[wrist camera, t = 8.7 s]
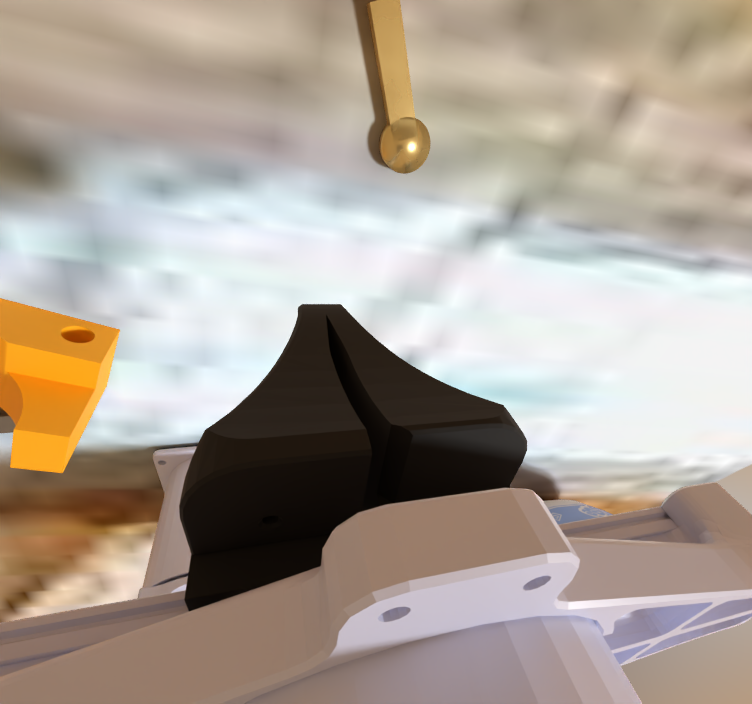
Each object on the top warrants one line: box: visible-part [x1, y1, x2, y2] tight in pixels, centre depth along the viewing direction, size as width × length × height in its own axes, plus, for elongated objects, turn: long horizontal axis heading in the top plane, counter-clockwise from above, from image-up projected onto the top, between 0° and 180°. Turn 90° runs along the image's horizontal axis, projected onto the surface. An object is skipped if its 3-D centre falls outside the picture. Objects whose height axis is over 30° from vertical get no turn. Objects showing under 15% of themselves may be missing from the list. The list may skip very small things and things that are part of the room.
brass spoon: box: [367, 0, 430, 173], centre depth 17 cm, size 6×2×1 cm, turn 13°
